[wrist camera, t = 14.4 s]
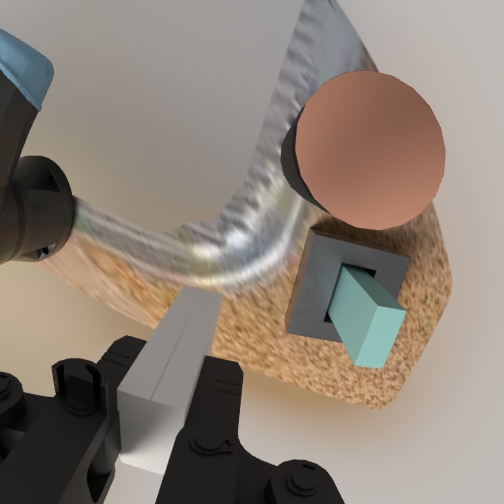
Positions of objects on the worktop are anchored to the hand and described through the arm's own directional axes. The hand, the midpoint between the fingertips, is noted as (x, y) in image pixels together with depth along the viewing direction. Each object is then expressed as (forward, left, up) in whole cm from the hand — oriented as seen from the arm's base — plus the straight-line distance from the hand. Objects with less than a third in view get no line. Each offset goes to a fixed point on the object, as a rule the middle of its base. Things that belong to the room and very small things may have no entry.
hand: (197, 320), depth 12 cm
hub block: (+14, -5, -26) cm, 30 cm away
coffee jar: (+8, +9, -27) cm, 29 cm away
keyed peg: (+14, -5, -26) cm, 30 cm away
